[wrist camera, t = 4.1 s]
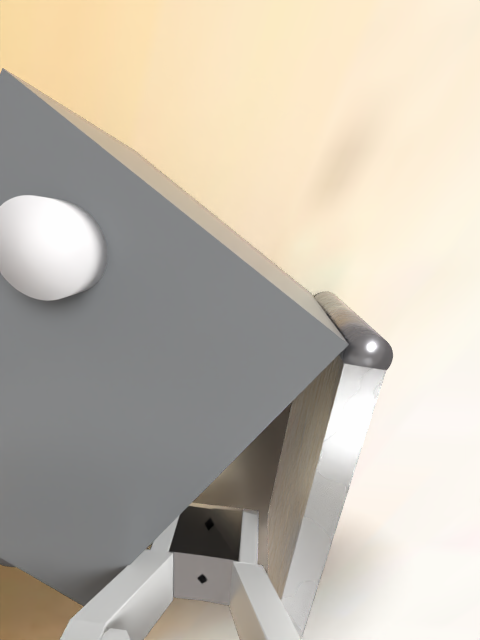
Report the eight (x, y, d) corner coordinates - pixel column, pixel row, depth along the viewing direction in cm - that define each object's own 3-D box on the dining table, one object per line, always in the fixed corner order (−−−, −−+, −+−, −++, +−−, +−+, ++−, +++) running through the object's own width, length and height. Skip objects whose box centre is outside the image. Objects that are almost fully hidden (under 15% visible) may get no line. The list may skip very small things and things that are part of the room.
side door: (293, 517, 12) (306, 657, 8) (266, 513, 12) (266, 649, 8) (350, 295, 9) (412, 341, 5) (314, 289, 9) (350, 331, 5)
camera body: (133, 496, 13) (49, 664, 8) (-10, 403, 12) (-205, 525, 7) (312, 294, 10) (362, 361, 5) (133, 150, 9) (-37, 43, 4)
